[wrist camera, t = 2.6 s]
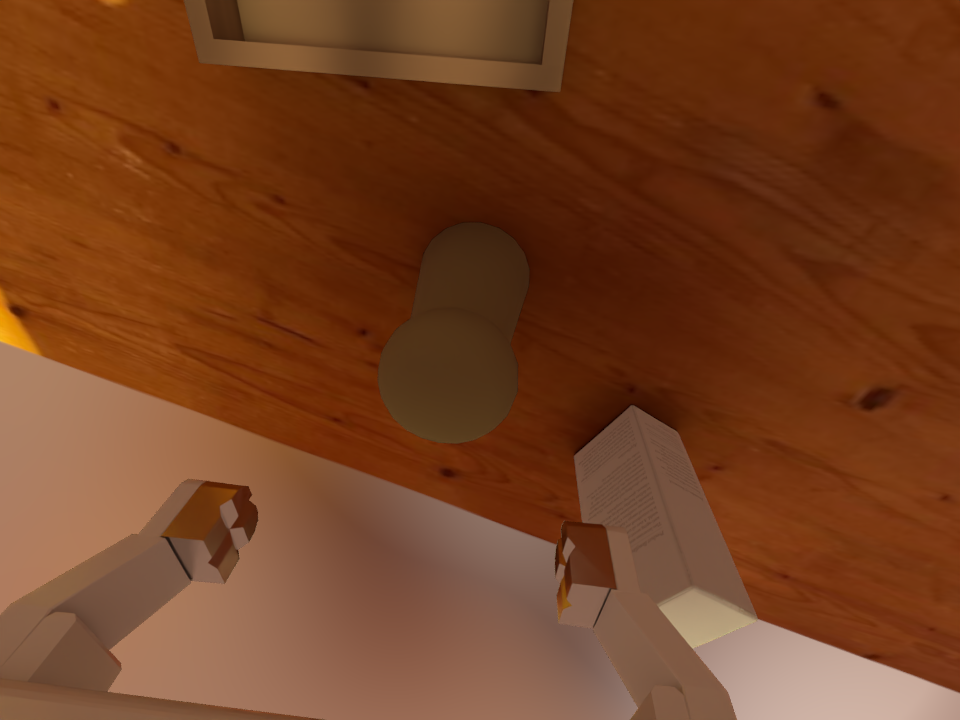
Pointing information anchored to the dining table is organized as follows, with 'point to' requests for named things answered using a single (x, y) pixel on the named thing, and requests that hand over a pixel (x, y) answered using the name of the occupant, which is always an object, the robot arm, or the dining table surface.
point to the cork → (458, 337)
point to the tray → (391, 38)
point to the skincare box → (663, 524)
